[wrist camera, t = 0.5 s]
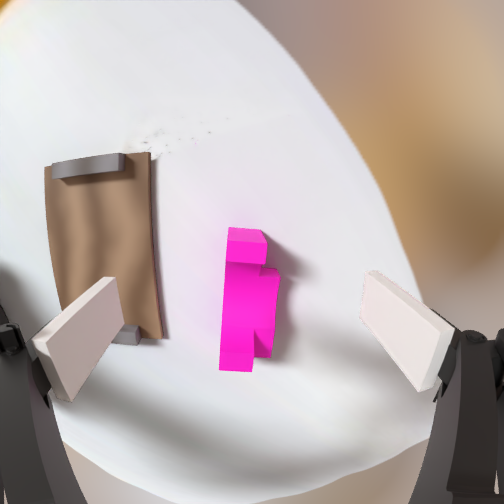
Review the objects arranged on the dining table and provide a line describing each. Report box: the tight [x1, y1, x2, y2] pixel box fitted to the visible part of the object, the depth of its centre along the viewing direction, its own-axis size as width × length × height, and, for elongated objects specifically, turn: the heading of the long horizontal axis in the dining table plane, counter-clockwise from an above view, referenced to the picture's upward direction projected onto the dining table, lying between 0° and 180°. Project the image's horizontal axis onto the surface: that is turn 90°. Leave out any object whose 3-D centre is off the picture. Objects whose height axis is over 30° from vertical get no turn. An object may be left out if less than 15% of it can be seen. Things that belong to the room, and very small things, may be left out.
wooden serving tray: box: [45, 152, 163, 345], centre depth 31 cm, size 16×24×3 cm, turn 179°
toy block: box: [219, 227, 281, 372], centre depth 31 cm, size 15×6×8 cm, turn 174°
